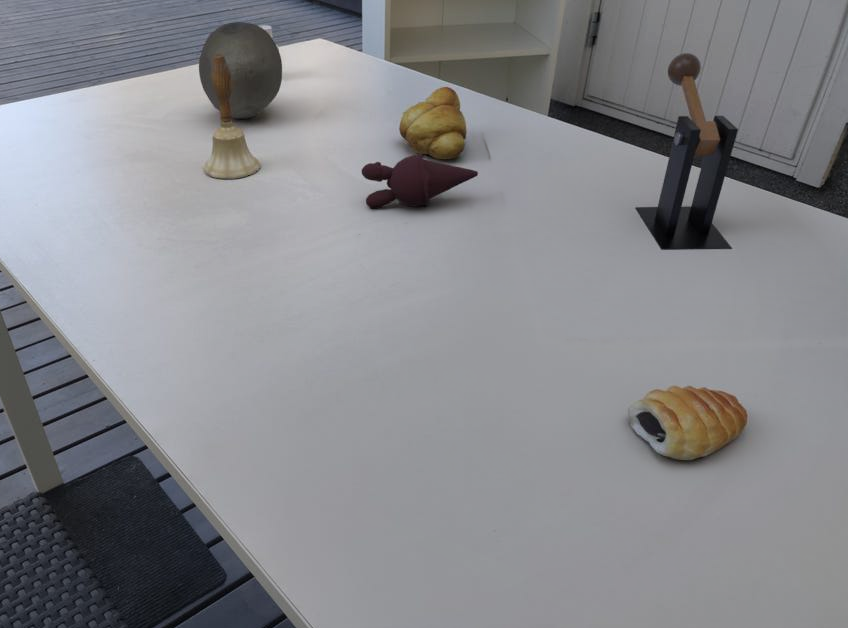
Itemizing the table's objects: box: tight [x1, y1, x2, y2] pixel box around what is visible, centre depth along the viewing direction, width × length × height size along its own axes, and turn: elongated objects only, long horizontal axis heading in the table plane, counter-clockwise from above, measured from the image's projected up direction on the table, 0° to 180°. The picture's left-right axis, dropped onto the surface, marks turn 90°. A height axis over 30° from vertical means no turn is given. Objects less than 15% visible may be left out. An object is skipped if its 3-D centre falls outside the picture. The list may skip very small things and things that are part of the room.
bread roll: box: [398, 86, 468, 160], centre depth 111 cm, size 13×10×8 cm
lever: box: [667, 52, 720, 156], centre depth 85 cm, size 14×4×4 cm, turn 179°
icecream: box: [361, 152, 479, 209], centre depth 97 cm, size 7×7×15 cm
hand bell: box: [203, 54, 262, 180], centre depth 105 cm, size 8×8×16 cm
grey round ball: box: [198, 21, 283, 120], centre depth 123 cm, size 14×14×15 cm
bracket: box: [634, 115, 739, 251], centre depth 86 cm, size 11×8×14 cm
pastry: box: [627, 385, 748, 461], centre depth 61 cm, size 9×7×4 cm
